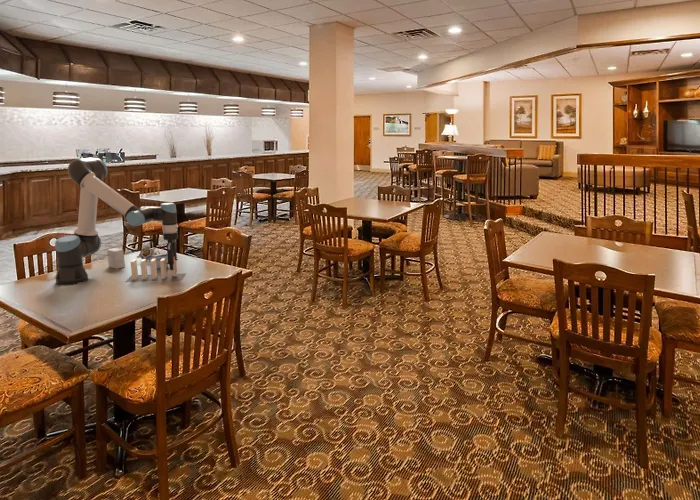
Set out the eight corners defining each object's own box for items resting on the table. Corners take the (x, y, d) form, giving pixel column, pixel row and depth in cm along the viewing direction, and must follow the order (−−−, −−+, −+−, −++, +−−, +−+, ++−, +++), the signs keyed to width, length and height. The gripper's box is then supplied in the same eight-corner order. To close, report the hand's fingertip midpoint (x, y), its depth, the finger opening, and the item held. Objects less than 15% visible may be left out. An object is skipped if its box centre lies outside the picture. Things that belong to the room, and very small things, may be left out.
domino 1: (132, 279, 270) (130, 261, 268) (134, 277, 275) (132, 259, 272) (135, 279, 270) (134, 261, 268) (138, 277, 275) (136, 259, 273)
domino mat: (125, 282, 266) (125, 282, 266) (131, 276, 278) (131, 275, 278) (182, 280, 270) (182, 280, 270) (186, 274, 283) (186, 273, 283)
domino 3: (151, 279, 271) (150, 261, 269) (153, 276, 276) (152, 258, 274) (155, 278, 272) (153, 260, 269) (157, 276, 277) (155, 258, 274)
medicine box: (156, 271, 289) (155, 256, 287) (152, 269, 291) (150, 255, 289) (168, 268, 295) (167, 253, 293) (164, 267, 298) (163, 252, 296)
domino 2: (142, 279, 271) (140, 261, 268) (144, 276, 276) (142, 259, 273) (145, 279, 271) (143, 261, 269) (147, 276, 276) (146, 258, 274)
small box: (125, 266, 297) (123, 249, 295) (116, 269, 293) (114, 251, 290) (117, 264, 301) (115, 247, 299) (108, 267, 297) (106, 249, 294)
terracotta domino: (171, 276, 273) (169, 258, 271) (172, 274, 278) (171, 256, 275) (174, 276, 273) (173, 258, 271) (176, 274, 278) (174, 256, 276)
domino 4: (161, 278, 272) (160, 260, 270) (163, 276, 277) (161, 258, 275) (165, 278, 272) (163, 260, 270) (166, 276, 277) (165, 258, 275)
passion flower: (147, 271, 307) (133, 257, 303) (151, 263, 317) (137, 249, 312) (161, 261, 306) (147, 247, 301) (165, 254, 316) (152, 239, 311)
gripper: (174, 235, 262) (177, 278, 267) (180, 228, 279) (183, 269, 284) (159, 235, 260) (162, 278, 266) (166, 229, 278) (169, 269, 283)
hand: (173, 273), depth 275 cm, fingers open, 5 cm apart
